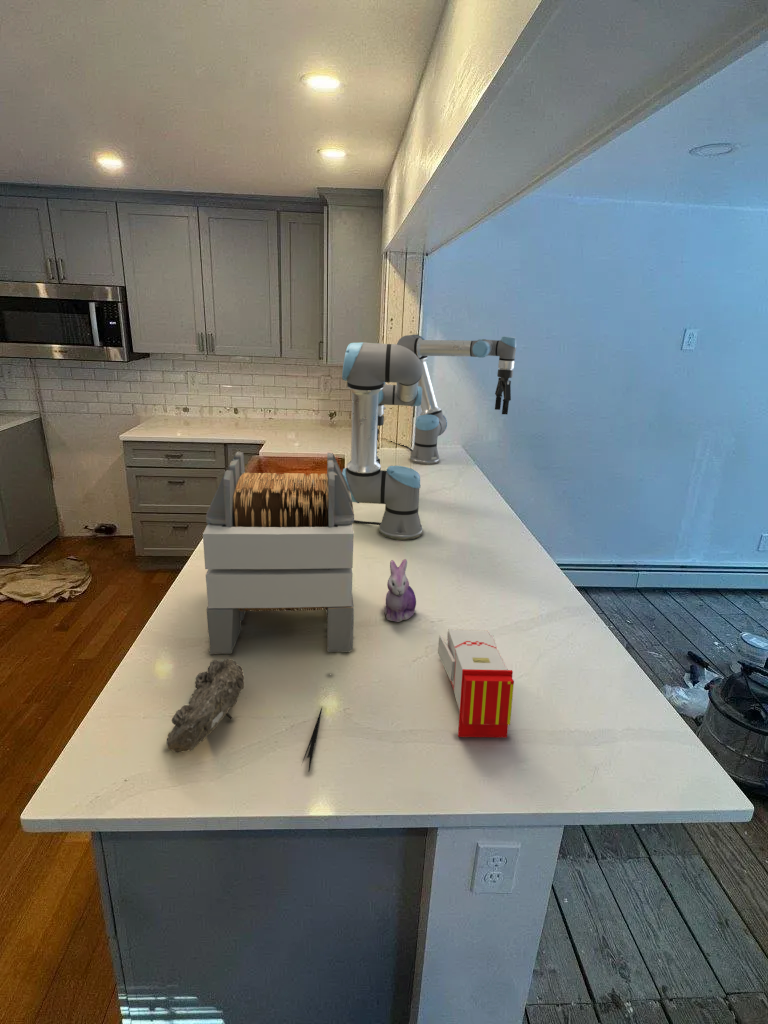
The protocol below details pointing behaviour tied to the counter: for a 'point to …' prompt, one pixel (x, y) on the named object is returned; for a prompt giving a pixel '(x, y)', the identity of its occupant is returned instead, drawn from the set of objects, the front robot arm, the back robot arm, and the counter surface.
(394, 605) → the figurine
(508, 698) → the toy
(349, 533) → the grey box with legs
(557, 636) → the counter surface
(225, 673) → the fossil
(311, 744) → the feather
